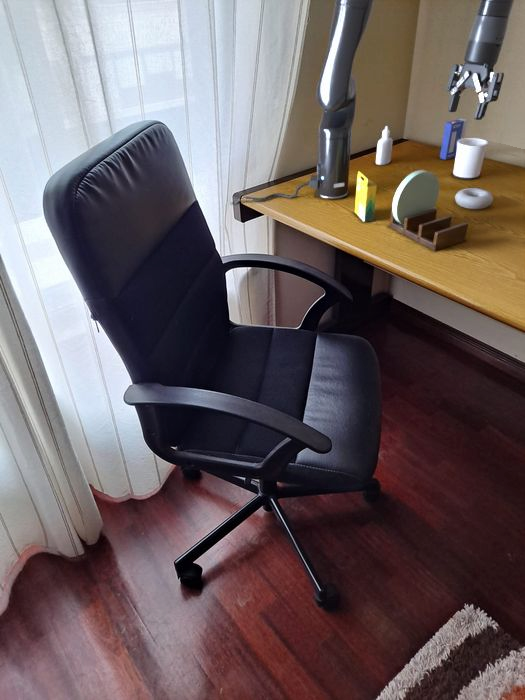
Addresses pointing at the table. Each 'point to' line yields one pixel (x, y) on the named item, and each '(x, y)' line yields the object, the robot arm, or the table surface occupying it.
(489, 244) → the table surface
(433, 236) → the rack
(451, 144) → the walkman
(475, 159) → the mug
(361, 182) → the crayon box
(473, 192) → the donut
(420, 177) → the plate
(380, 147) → the eye dropper bottle
